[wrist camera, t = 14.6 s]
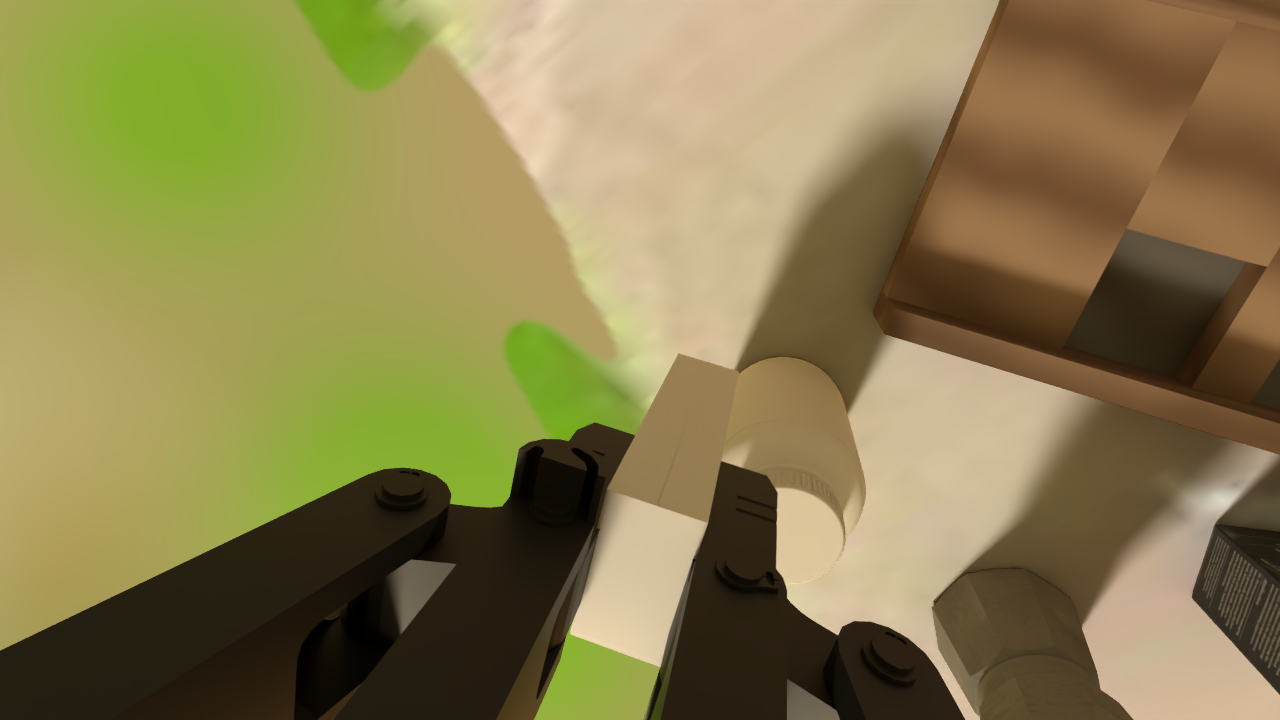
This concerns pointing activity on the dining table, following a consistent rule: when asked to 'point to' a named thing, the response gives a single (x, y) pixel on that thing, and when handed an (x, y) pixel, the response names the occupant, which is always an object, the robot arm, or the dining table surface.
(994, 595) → the coffeepot
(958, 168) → the divided wooden tray
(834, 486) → the pill bottle
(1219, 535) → the box
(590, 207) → the dining table surface
